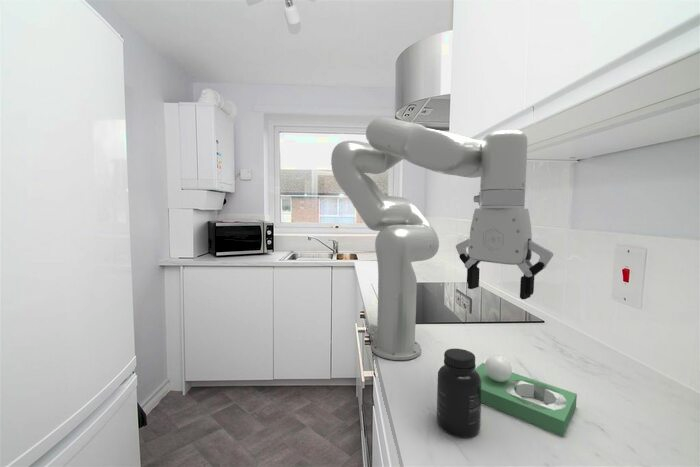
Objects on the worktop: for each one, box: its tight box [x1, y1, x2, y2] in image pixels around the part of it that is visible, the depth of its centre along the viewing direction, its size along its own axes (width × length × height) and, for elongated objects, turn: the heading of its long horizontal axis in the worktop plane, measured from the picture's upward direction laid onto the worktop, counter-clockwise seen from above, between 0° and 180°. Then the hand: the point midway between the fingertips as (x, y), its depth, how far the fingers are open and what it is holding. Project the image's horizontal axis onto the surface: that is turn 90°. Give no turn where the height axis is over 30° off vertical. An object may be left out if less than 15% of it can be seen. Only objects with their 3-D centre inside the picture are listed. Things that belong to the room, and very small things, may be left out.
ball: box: [484, 354, 513, 382], centre depth 63 cm, size 5×5×5 cm
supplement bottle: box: [436, 348, 482, 438], centre depth 53 cm, size 7×7×12 cm
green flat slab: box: [475, 362, 578, 437], centre depth 61 cm, size 17×11×2 cm, turn 47°
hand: (497, 292), depth 61 cm, fingers open, 9 cm apart
